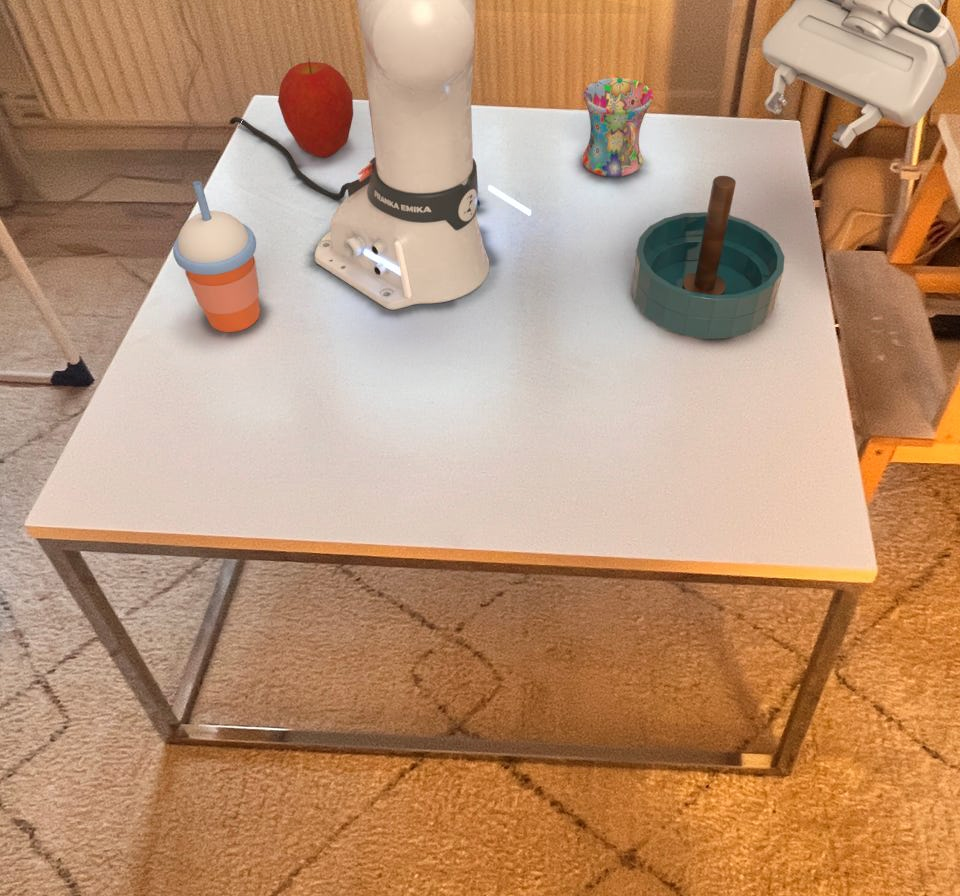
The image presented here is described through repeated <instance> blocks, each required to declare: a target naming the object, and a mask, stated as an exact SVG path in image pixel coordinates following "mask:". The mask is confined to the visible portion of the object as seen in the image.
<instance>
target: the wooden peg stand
mask: <svg viewBox="0 0 960 896" xmlns="http://www.w3.org/2000/svg"><path fill="white" fill-rule="evenodd" d="M736 184H737V182H736V180H735V179H734V178H733V177H731V176H730V175H729V176H728V175H718V176H715V177H714V178H713V180H712V185H711V190H710V196H709V201H708V207H707V211H706V212H707V217H706V222H705V227H704V233H703V238H702V244H701V249H700V255H699V260H698V265H697V271H696V272H695V273H691V274H689V275H688V276H686V277H685V279H684V281H683V286H682V289H685V290H688V291H691V292H696V293H703V294H710V295H724V294H725V289H726V284H725V282H724V280H723V279H722V278H721V277H719V276H717V272H718V268H719V263H720V258H721V253H722V248H723V243H724V238H725V233H726V229H727V224H728V219H729V215H730V214H731V210H732V203H733V199H734V194H735V190H736V186H737V185H736Z"/></svg>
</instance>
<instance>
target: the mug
mask: <svg viewBox="0 0 960 896" xmlns="http://www.w3.org/2000/svg"><path fill="white" fill-rule="evenodd" d="M583 90H584V91H583V95H582V96H583V100H584V102H585V104H586V108H587V112H588V116H589V124H590V132H589V133H590V134H589V140H588V143H587V146H586V149H585V150H584V152H583V154H582V157H581V160H582V163H583V166H584V167H585V168H586V169H587V170H588V171H590V172H591V173H594V174H596V175H598V176H602V177H608V178H619V177H625V176H629V175H632V174H633V173H635V172H637V171H638V170H639V169H640V168H641V167H642V165H643V161H644V159H643V155H642V153H641V148H640V132H641V127H642V124H643V121H644V118H645V116H646V114H647V111H648V109H649V108H650V106H651V104H653V103H652V102H653V101H654V93H653V91H652V89H651V88H650V87H649V86H648V85H647V84H645V83H643V82H641V81H638V80H636V79H631V78H626V77H608V78H602V79H599V80H595V81H594V82H591V83H590V84H588V85H587V86H586V88H585V89H583Z"/></svg>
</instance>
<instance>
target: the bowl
mask: <svg viewBox="0 0 960 896" xmlns="http://www.w3.org/2000/svg"><path fill="white" fill-rule="evenodd" d="M706 217H707V211H699V212H698V211H697V212H684V213H683V212H682V213H680V214H679V213H678V214H675V215H672V216H667V217H664V218H662V219H660V220H658V221H657V222H655V223H653V224H651V225H649V226H648V227H647V229H646V230H644V232H643V233H642V234H641V236H639V238H638V242H637V245H636V249H635V257H634V266H633V272H632V280H631V281H632V282H631V292H632V293H631V294H632V297H633V300H634V304H635V305H636V306H637V308H638V309H639V310H640V312H641V313H642V314H643V315H644V316H645V317H646V318H647V319H649V320H650V321H652V322H653V323H655V324H656V325H658V326H659V327H661V328H662V329H664V330H667V331H670V332H673V333H675V334H678V335H681V336H685V337H691V338H699V339H705V340H713V339H729V338H733V337H738V336H740V335H744V334H747V333H751V332H752V331H753V330H755V329H756V328H758V327H760V326H761V325H763V324H764V323H766V321H767V320H768V318H769V317H770V315H771V314H772V312H773V311H774V308H775V303H776V300H777V296H778V292H779V289H780V285H781V283H782V278H783V274H784V269H785V258H786V257H785V255H784V252H783V250H782V248H781V246H780V243H779V242H778V241H777V240H776V239H775V238H774V237H773V236H771V234H769V232H767V231H766V230H765V229H764V228H762V227H760V226H757V225H756V224H755V223H753V222H750V221H749V220H745V219H742V218H740V217H736V216H733V215H730V214H729V219H728V224H727V229H726V233H725V238H724V243H723V248H722V253H721V258H720V263H719V268H718V272H717V276H719V277H721V278H722V279H723V280H724V282H725V284H726V289H725V294H724V295H710V294H703V293H696V292H691V291H688V290H685V289H682V286H683V281H684V279H685V277H686V276H688V275H689V274H691V273H695V272H696V271H697V265H698V260H699V255H700V249H701V244H702V238H703V233H704V227H705V222H706Z"/></svg>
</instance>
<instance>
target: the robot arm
mask: <svg viewBox="0 0 960 896" xmlns="http://www.w3.org/2000/svg"><path fill="white" fill-rule="evenodd" d="M944 3H945V0H794V1H793V3H792V4H791V6H790V7H789V8H788V9H787V10H786V12H785V13H784V14H783V15H782V16H781V17H780V19H779V20H777V22H776V23H775V24H774V25H773V26H772V28H771V29H770V30H769V32H768V33H767V34H766V36H765V37H764V38H763V40H762V42H761V54H762V56H763V58H764V60H765V61H766V62H767V64H768V65H769V66H771V67H773V68H775V69H776V70H775V72H774V75H773V82H772V88H771V89H772V91H771V93H770V94H769V95H768V97H767V99H765V101H764V107H765V109H766V110H767V111H769V112H770V113H774V114H775V115H780V114H781V112H782V111H783V109H784V108H786V106H787V104H788V102H789V101H788V100H787V99H786V97H785V89H786V85H789V86H791V85H792V83H794V81H795V79H796V78H797V79H799V80H801V81H804V82H805V83H807V84H809V85H812V86H814V87H816V88H818V89H821V90H823V91H825V92H827V93H828V94H832V95H833V96H836V97H838V98H840V99H842V100H844V101H846V102H849V103H850V104H852V105H855V106H857V107H860V108H861V111H860V113H861V115H862V116H860V117H859V118H857V119H856V120H854V121H852V122H850V123H849V124H848V125H846V124H844V123H843V122H841V123H840V124H839V126H838V127H837V128H836V131H834V132H833V134H832V135H831V140H832V141H833V143H834V144H836V145H838V146H840V147H841V148H843V149H847V148H849V146H850V145H851V143H852V142H853V141H854V139H855V138H856V137H857V136H859V135H861V134H864V133H865V132H867V131H869V130H871V129H873V128H875V127H876V126H877V125H878V123H879V122H880V121H881V119H882V118H883V119H885V120H887V121H890V122H892V123H894V124H896V125H898V126H900V127H902V128H909V127H911V126H913V125H916V124H918V123H919V122H920V121H921V120H922V119H923V118H924V116H925V115H926V114H927V112H928V111H929V109H930V108H931V106H932V105H933V103H934V102H935V100H936V99H937V97H938V96H939V94H940V92H941V90H942V89H943V87H944V85H945V83H946V80H947V69H946V68H949V67H951V66H953V64H954V63H955V62H956V61H957V60H958V59H959V56H960V45H959V41H958V37H957V34H956V32H955V30H954V27H953V25H952V23H951V22H950V20H949V18H947V16H945V15H944V14H943V13H942V12H941V11H940V9H941V8H942V6H943V4H944ZM356 6H357V12H358V18H359V19H358V20H359V27H360V33H361V43H362V51H363V52H362V53H363V59H364V61H363V62H364V68H365V77H366V86H367V87H366V88H367V97H368V98H367V99H368V109H369V116H370V126H371V135H372V141H373V150H374V157H373V158H372V159H370V160H369V164H368V165H366V166H365V167H364V168H362V169H361V170H360V171H359V172H358V176H360V175H361V176H360V177H359V178H358V179H356V180H354V181H351V182H346V183H344V184H342V186H341V187H340V190H339V192H338V193H335V192H331V191H329V190H327V189H325V188H323V187H321V186H319V185H318V184H317V183H316V182H314V181H313V180H311V178H309V177H308V176H306V175H305V174H304V173H303V172H302V171H301V170H300V169H299V167H298V166H297V164H296V161H295V159H294V158H293V155H291V153H290V151H289V150H287V148H286V147H284V146H283V145H282V143H280V142H279V141H277V140H276V139H274V138H273V137H271V136H269V135H268V134H266V133H264V132H263V131H261V130H259V129H258V128H256V127H254V126H253V125H252V124H251V123H249V122H248V121H246V120H245V119H243V118H241V117H239V116H234V117H232V118H230V120H229V124H231V125H235V124H236V123H238V124H240V123H241V121H242V120H243V121H242V123H241V124H240V125H242V126H243V127H244V128H246V129H247V130H249V131H250V132H251V133H253V134H254V135H256V136H258V137H259V138H261V139H263V140H265V141H266V142H268V143H270V144H271V145H272V146H274V147H275V148H277V150H279V151H280V152H281V153H282V154H283V155H284V156H285V157H286V160H287V161H288V163H289V165H290V167H291V169H292V171H293V172H294V173H295V175H296V176H297V177H298V178H299V179H300V180H302V181H303V182H304V183H305V184H306V185H307V186H309V187H310V188H312V190H314V191H316V192H317V193H319V194H322V195H324V196H326V197H329V198H330V199H333V200H342V199H343V198H344V197H345V195H346V192H347V195H348V197H347V198H346V199H345V200H343V201H342V202H341V203H340V204H339V206H338V207H337V209H336V210H335V211H334V213H333V215H332V218H331V221H330V230H329V231H328V232H327V233H326V234H325V235H324V236H323V237H322V238H321V240H320V241H319V243H318V244H317V245H316V246H317V247H316V249H315V252H314V262H315V263H316V264H317V265H319V266H320V267H321V268H323V269H325V270H327V271H328V272H329V273H330V274H333V275H334V276H335V277H337V278H339V279H340V280H342V281H343V282H344V283H346V284H348V285H350V286H351V287H353V288H354V289H355V290H358V291H359V292H361V293H362V294H364V295H365V296H366V297H369V299H371V300H373V301H374V302H376V303H377V304H379V305H381V306H382V307H383V308H385V309H387V310H400V309H403V308H407V307H410V306H413V305H421V304H423V305H424V304H440V303H445V302H450V301H453V300H457V299H460V298H462V297H464V296H467V295H469V294H470V293H472V292H474V291H475V290H477V288H479V287H481V285H482V284H483V283H484V281H486V278H487V277H488V276H489V273H490V268H491V267H490V260H489V256H488V254H487V251H486V249H485V245H484V242H483V238H482V233H481V230H480V225H479V219H478V209H477V202H478V200H479V185H478V183H479V181H478V168H477V162H476V160H475V159H474V153H473V152H474V151H473V150H474V149H473V121H472V120H473V118H472V117H473V116H472V114H473V113H472V94H473V86H474V85H473V84H474V73H475V61H476V60H475V59H476V58H475V57H476V31H477V29H476V27H477V11H476V2H475V0H356ZM487 187H488V191H489V192H491V193H492V194H494V195H495V196H497V197H499V198H500V199H502V200H503V201H505V202H507V203H508V204H510V205H511V206H513V207H515V208H516V209H517V210H519V211H521V212H522V213H524V214H525V215H528V216H531V215H532V209H529V208H528V207H526V206H525V205H523V204H521V203H520V202H518V201H517V200H515V199H514V198H512V197H510V196H508V195H507V194H505V193H504V192H502V191H500V190H499V189H498V188H496V187H494V186H492V185H491V184H489V185H488V186H487Z"/></svg>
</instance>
